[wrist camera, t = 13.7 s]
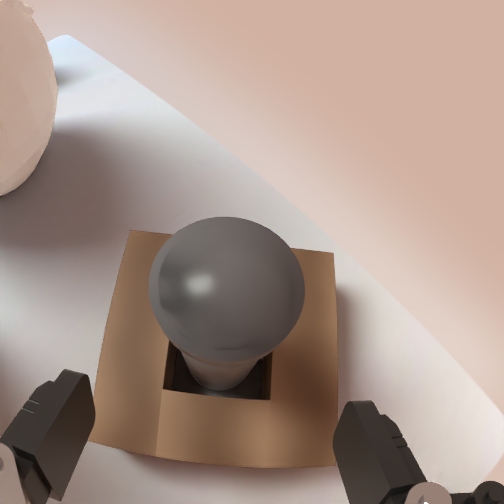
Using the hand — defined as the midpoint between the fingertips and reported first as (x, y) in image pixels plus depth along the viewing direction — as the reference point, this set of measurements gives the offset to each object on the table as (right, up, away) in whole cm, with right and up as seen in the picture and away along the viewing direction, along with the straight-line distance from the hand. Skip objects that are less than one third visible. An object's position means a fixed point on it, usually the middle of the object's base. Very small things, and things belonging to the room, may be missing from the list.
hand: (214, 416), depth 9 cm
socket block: (-1, -2, +13) cm, 13 cm away
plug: (-1, -2, +13) cm, 13 cm away
